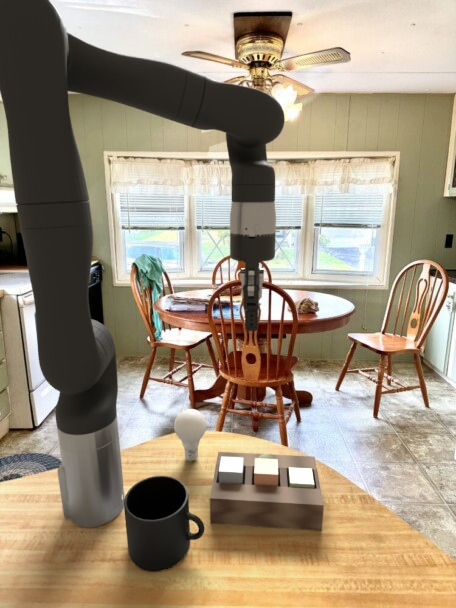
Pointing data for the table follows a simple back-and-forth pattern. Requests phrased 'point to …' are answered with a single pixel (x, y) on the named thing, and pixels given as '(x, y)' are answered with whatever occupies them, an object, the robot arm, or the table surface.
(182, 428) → the lightbulb
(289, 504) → the console
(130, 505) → the mug
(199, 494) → the table surface
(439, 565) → the table surface
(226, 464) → the slate button
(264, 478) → the terracotta button
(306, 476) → the sage button
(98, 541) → the table surface
